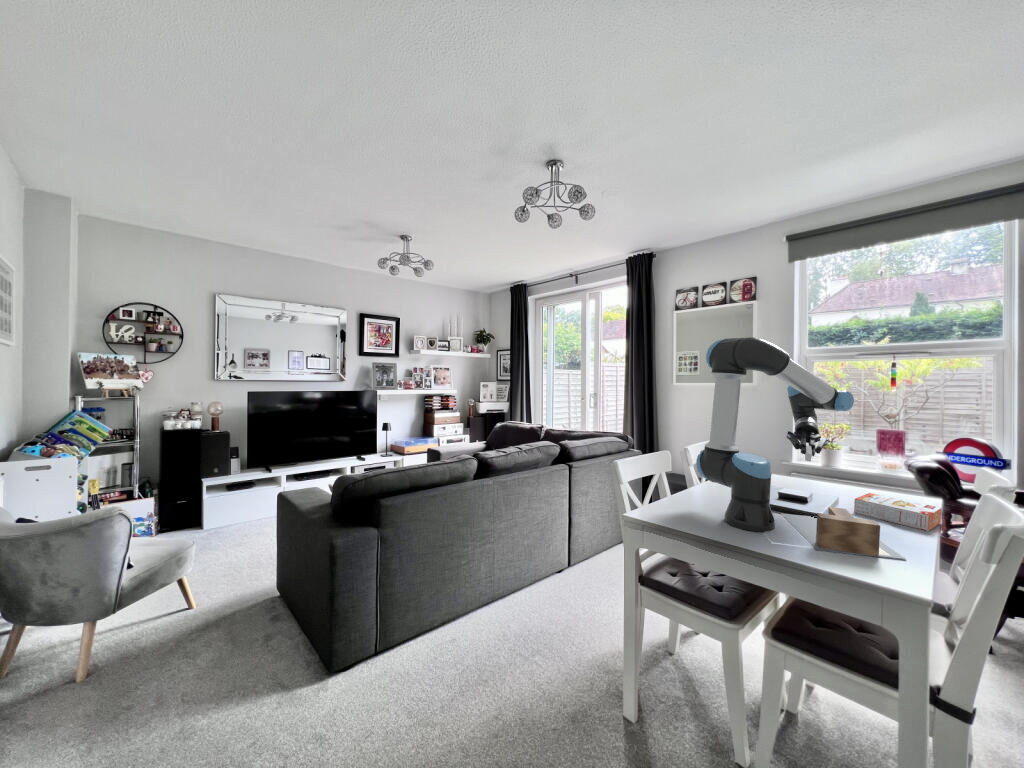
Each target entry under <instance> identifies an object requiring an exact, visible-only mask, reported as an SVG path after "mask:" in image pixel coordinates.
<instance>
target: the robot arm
mask: <svg viewBox="0 0 1024 768" xmlns="http://www.w3.org/2000/svg"><path fill="white" fill-rule="evenodd" d="M705 360H706V363H707V364H708V366H709V368H710V369H711V374H712V376H713V377H714V388H713V389H714V391H713V392H714V393H713V402H712V411H711V412H712V413H711V422H710V423H711V424H710V433H709V441H708V442H706V443H705V444H704V449H702V450H700V452H699V454H697V457H696V460H695V461H696V462H695V463H696V469H697V472H698V473H699V474H700V476H701V477H702V478H703V479H706V480H708V481H709V482H712V483H716V484H719V485H722V486H725V487H728V488H731V489H730V490H731V491H730V492H731V493H730V494H731V495H730V501H729V503H728V506H727V508H726V510H725V513H724V522H725V523H727V524H728V525H730V526H731V527H735V528H737V529H741V530H744V531H751V532H757V533H758V532H759V533H760V532H761V533H762V532H763V533H764V532H771V531H774V530H775V528H776V522H775V521H776V520H775V517H774V514H773V512H772V509H771V504H770V501H771V499H770V498H771V484H772V466H771V463H770V461H769V460H767V459H766V458H765V457H762V456H759V455H757V454H750V453H747V452H740V449H739V448H738V446H736V437H737V426H738V415H739V408H740V407H739V406H740V405H739V404H740V394H741V385H742V380H743V379H744V378H746V377H747V372H748V371H756V372H761V373H764V374H766V375H767V376H770V377H774V376H775V378H777V379H779V380H780V381H782V382H784V383H785V384H787V385H788V386H787V388H786V389H787V390H786V391H787V397H788V399H789V405H790V407H791V408H790V409H791V412H792V416H793V420H794V432H792V431H787V434H786V438H787V439H788V440H789V441H790V443H791V444H792V446H793V448H794V449H795V450H800V453H801V454H802V455H804V460H805V461H807V462H811V460H812V457H815V455H816V454H821V452H822V451H823V449H824V447H826V446H828V444H829V438H828V437H821V435H820V432H819V427H818V426H819V425H818V417H817V413H816V410H817V409H818V410H824V411H825V410H826V411H834V412H848V411H850V410H851V409H852V408H853V406H854V403H855V398H854V395H853V393H852V392H851V391H848V390H842V389H841V390H839V389H836V388H834V387H833V386H831V385H830V384H828V383H827V382H826V381H824V380H823V379H821V378H820V377H818V376H817V375H815V374H814V373H812V372H811V371H809V370H808V369H806V368H805V367H804V366H802V365H800V364H799V363H797V362H796V361H795V360H793V359H791V356H790V354H789V353H788V352H787V351H785V350H784V349H782V348H781V347H779V346H778V345H776V344H774V343H772V342H770V341H767V340H765V339H762V338H758V337H755V336H754V337H753V336H751V337H748V336H747V337H732V338H731V337H729V338H723V339H718V340H716V341H714V342H713V343H711V344H710V346H709V347H708V348H707V351H706V355H705ZM815 443H818V444H817V446H816V444H815ZM807 444H808V445H807Z"/></svg>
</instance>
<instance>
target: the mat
mask: <svg viewBox="0 0 1024 768" xmlns="http://www.w3.org/2000/svg"><path fill="white" fill-rule="evenodd" d="M780 515H781V516H782V517H783V518H784V519H786V521H787V522H788V523H789V524H790V525H791V526H792V527H793V528H794V529H796V530H797V532H798V533H799V534H800V535H801V536H802V537H803V538H804V539H806V541H807V542H808V543H809V544H810V545H811V546H812V548H813V549H814V550H815V551H820V552H829V553H836V552H838V554H845V553H849V554H848V555H854V554H858V555H857V556H863V555H865V554H859V553H853V552H846V551H840V550H834V549H827V548H821V547H819V546H818V544H817V543H816V529H817V518H814V517H815V516H813V517H811V515H800V514H791V513H780ZM865 557H872V555H866V556H865ZM880 557H886V558H885V559H889V558H895V559H894V560H898V559H906V558H905V556H903V555H901V554H900V553H898V552H897V551H896V550H894V549H893V548H891V547H890V546H889V545H887V544H885V543H884V542H882V541H881V540H879V557H878V556H875V557H874V558H880Z"/></svg>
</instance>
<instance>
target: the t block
mask: <svg viewBox="0 0 1024 768" xmlns="http://www.w3.org/2000/svg"><path fill="white" fill-rule="evenodd" d="M827 510H828V511H827V512H828V513H821V512H817V515H816V517H817V529H816V543H817V544H818V546H819V547H821V548H827V549H834V550H840V551H846V552H853V553H859V554H865V555H872V556H878V557H877V558H880V557H879V540H880V537H881V536H880V535H881V524H879V523H878V522H877V521H876V520H874V519H866V518H858V517H854V515H853V514H852V513H850V511H848V509H847V508H841V507H833V506H828V509H827ZM880 541H881V540H880ZM872 556H871V557H872Z"/></svg>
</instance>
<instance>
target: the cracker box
mask: <svg viewBox="0 0 1024 768" xmlns="http://www.w3.org/2000/svg"><path fill="white" fill-rule="evenodd" d="M853 503H854V507H853V512H854V514H859V515H862V516H867V517H871V518H876V519H879V520H881V521H886V522H890V523H893V524H896V525H897V524H898V525H902V526H905V527H906V526H907V527H909V528H914V529H918V530H921V531H922V530H923V531H926V532H929V531H931V530H933V528H935V527H937V526H938V525H940V524H941V523H942V510H943V509H942V507H939V506H935V505H930V504H924V503H919V502H915V501H911V500H905V499H901V498H895V497H891V496H885V495H880V494H875V493H871V492H868V493H866V494H863V495H861V496H858V497H856V498H854V502H853Z"/></svg>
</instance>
